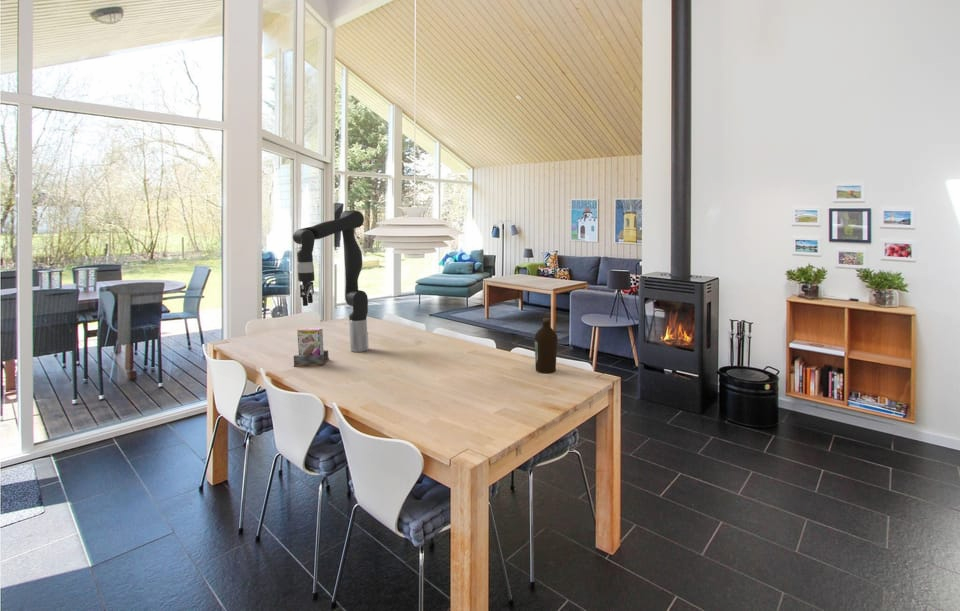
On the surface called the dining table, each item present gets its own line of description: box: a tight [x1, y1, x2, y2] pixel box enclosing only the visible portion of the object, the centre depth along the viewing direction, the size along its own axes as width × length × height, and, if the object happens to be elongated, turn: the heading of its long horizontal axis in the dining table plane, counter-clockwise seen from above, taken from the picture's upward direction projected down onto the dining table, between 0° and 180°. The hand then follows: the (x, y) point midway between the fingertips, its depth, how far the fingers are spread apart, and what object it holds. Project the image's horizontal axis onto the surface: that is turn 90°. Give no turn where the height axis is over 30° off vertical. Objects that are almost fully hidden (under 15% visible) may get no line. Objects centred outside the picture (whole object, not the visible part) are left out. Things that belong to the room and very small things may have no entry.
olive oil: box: [534, 317, 559, 374], centre depth 233 cm, size 11×11×25 cm
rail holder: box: [293, 349, 330, 368], centre depth 249 cm, size 14×12×5 cm
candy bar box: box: [296, 327, 324, 355], centre depth 248 cm, size 11×5×16 cm, turn 86°
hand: (308, 304), depth 245 cm, fingers open, 8 cm apart
